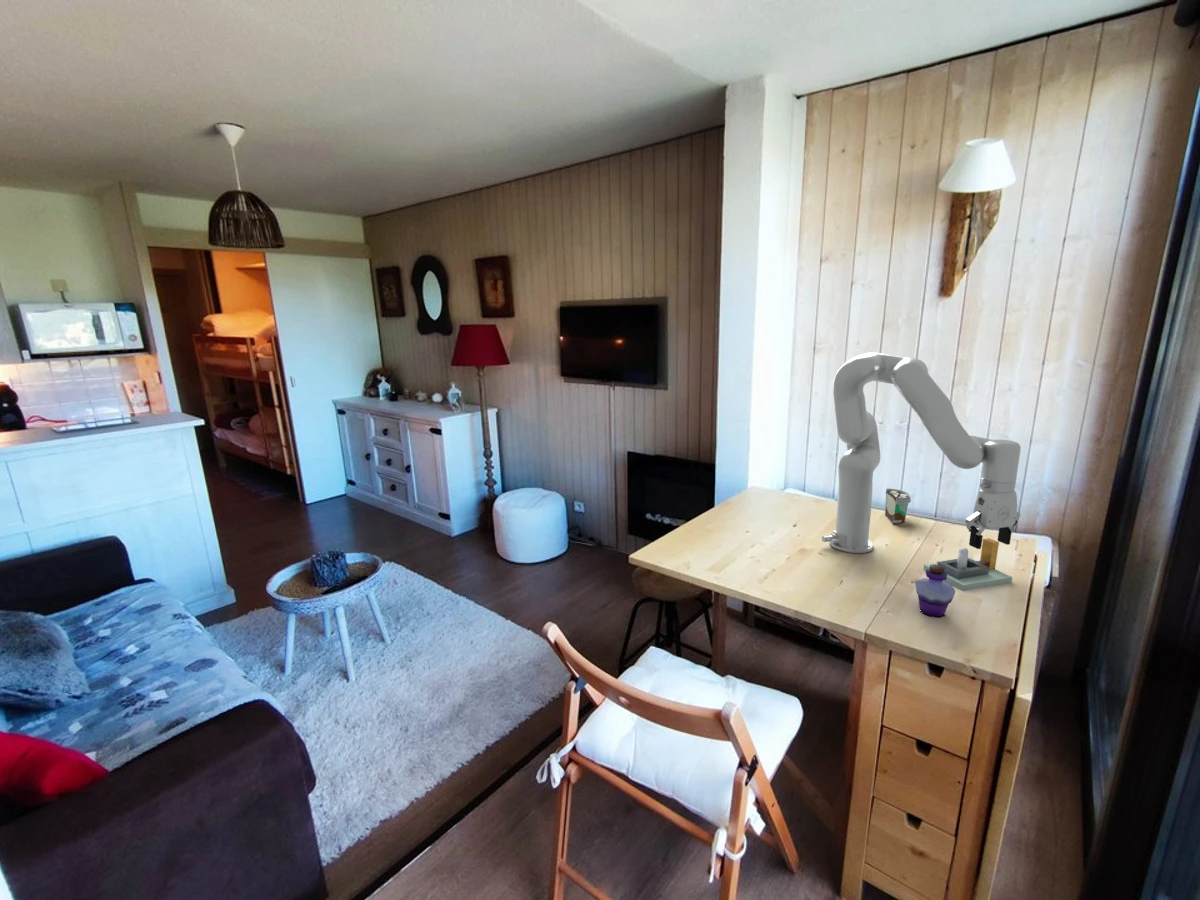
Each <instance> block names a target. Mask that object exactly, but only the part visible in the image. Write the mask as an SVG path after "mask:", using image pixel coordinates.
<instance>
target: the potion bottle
mask: <svg viewBox="0 0 1200 900" xmlns="http://www.w3.org/2000/svg"><path fill="white" fill-rule="evenodd" d="M944 570H945V568H944V567H943V566H940V565H935V564H933V565H930V568H929V569H926V571H925V575H926V578H925V577H923V578H919V579H917V580H915V581H914V582H915V583H914V584H915V591H916V594H917V597H918V603H919V604H918V606H919V608H920V610H921V611H920V610H919V611H920V613H921V612H923V613H922V614H923V615H925V616H928V617H931V618H937V619H939V618H943V617H945V616H946V611H947V609H948V607H949V604H951V603H952V602H953V598H954V596H955V594H956V590H955V588H954V586H953V585H951V584H950V583H948V582H946V581H944V580H946V579H947V573H946V572H945V571H944Z"/></svg>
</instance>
